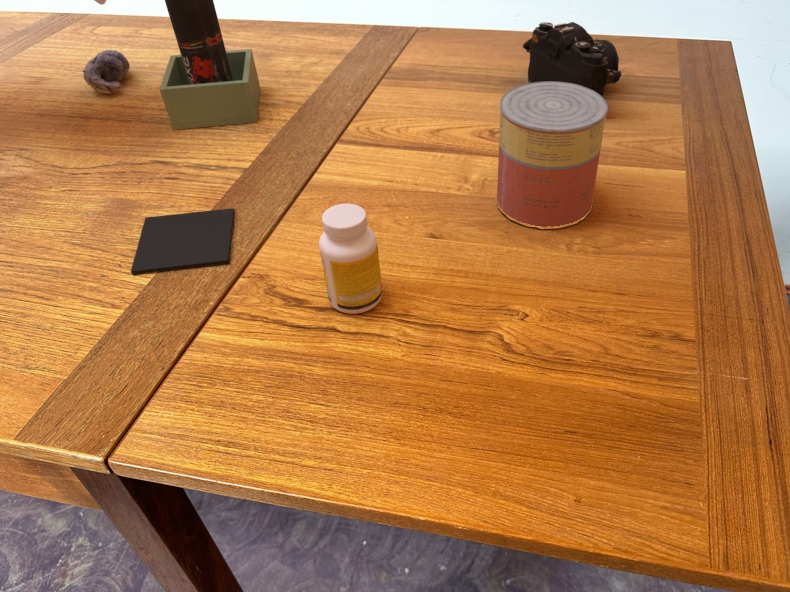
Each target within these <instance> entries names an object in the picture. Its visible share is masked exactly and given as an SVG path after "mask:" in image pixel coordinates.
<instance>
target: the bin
mask: <svg viewBox="0 0 790 592" xmlns="http://www.w3.org/2000/svg"><path fill="white" fill-rule="evenodd" d="M226 54H227V58H228V62H229V65H230V69H231V73H232V77H233V81H227V82H215V83H204V84H192V85H190V83H189V80H188V77H187V73H186V70H185V66H184V63H183V60H182V56H181V54H172V55H170V56H169V59H168V63H167V65H166V67H165V71H164V75H163V78H162V81H161V84H160V86H159V93H160V96H161V98H162V101H163V104H164V108H165V110H166V113H167V117H168V119H169V123H170V125H171V126H170V127H171V128H172V129H171V130H173V131H176V130H177V131H178V130H186V129H187V130H188V129H189V130H190V129H197V128H208V127H218V126H219V127H220V126H230V125H240V124H251V123H258V121H259V120H258V119H259V106H260V94H261V85H260V79H259V76H258V71H257V67H256V62H255V57H254V52H253V49H252V48H246V49H245V48H244V49H233V50H226Z"/></svg>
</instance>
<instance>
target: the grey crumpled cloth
mask: <svg viewBox="0 0 790 592" xmlns="http://www.w3.org/2000/svg"><path fill="white" fill-rule="evenodd" d="M130 69H131V67H130V63H129V60H128V58H126V56H125V55H124V54H123V53H122V52H120V51H118V50H116V49H105V50H103V51H101V52H97V55H95V56H94V57H92V58H91V59H89V60H88V62H87V63H86V65H85V67H84V69H83V70H82V73H83V75H82V76H83V79H84V81H85V82H86V84H87V85H88V86H89V87H90V88H91V89H93V90H94V91H98V92H100V93H103V94H111V93H112V92H113V90H114V91H119V89H120V88H121V87H122V83H121V81H122V79H123V78H124V77H125V76H126V75H127V74H128V73H129V70H130Z"/></svg>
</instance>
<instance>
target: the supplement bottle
mask: <svg viewBox="0 0 790 592" xmlns="http://www.w3.org/2000/svg"><path fill="white" fill-rule="evenodd" d="M321 221H322V227H323V232H322V234H321V235H320V237H319V240H318V248H319V254H320V260H321V265H322V270H323V275H324V280H325V281H324V282H325V287H326V292H327V297H328V301H329V303H330V305H331V307H332V308H334V309H335V310H337V311H338V312H340V313H344V314H351V315H354V314H355V315H356V314H362V313H366V312H368V311H370V310H373V308H375V307H376V306H377V305H378V304H379V303H380V301H381V300H382V298H383V284H382V275H381V274H382V273H381V265H380V257H379V256H380V255H379V247H378V240H377V236H376V233H375V231H373V230H372V228H370V227H369V226H368V217H367V213H366V210H365V209H364V208H363V207H362V206H360V205H358V204H354V203H339V204H335V205H332V206H330V207H329V208H327V209H326V210H325V211H324V212H323V214H322V215H321Z"/></svg>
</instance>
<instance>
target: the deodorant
mask: <svg viewBox="0 0 790 592" xmlns="http://www.w3.org/2000/svg"><path fill="white" fill-rule="evenodd" d="M164 3H165V6H166V10H167V13H168V16H169V19H170V23H171V27H172V30H173V33H174V36H175V40H176V42H177V46H178V50H179V53H180V55H181V56H182V60H183V63H184V66H185V70H186V73H187V77H188V80H189V83H190V85H192V84H204V83H215V82H227V81H233V77H232V73H231V69H230V65H229V62H228V58H227V54H226V51H227V50H226V46H225V43H224V38H223V34H222V31H221V27H220V22H219V17H218V14H217V10H216V6H215V2H214V0H164Z"/></svg>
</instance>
